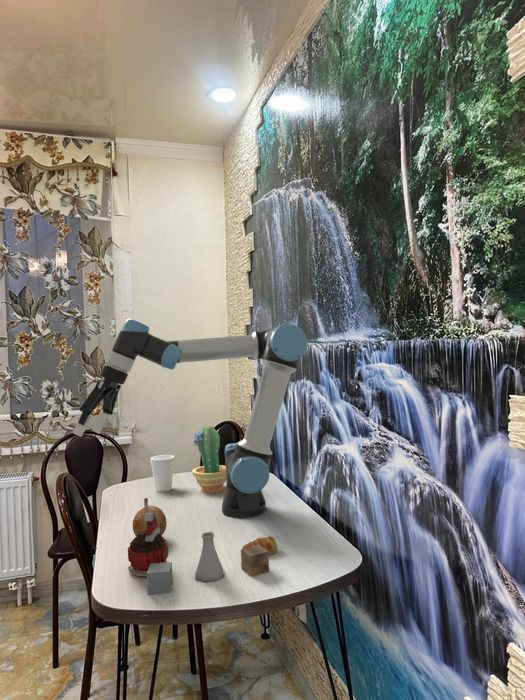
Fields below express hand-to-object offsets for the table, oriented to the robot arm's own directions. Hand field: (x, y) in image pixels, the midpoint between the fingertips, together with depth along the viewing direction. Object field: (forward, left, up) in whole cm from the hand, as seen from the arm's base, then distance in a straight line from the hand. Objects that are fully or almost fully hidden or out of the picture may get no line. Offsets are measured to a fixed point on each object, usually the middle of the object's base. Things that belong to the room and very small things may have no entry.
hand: (86, 433), depth 143 cm
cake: (-14, +28, -32) cm, 45 cm away
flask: (-28, +38, -32) cm, 56 cm away
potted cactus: (-46, -36, -32) cm, 66 cm away
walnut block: (-39, +40, -32) cm, 64 cm away
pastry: (-44, +30, -32) cm, 62 cm away
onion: (-17, +9, -32) cm, 37 cm away
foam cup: (-28, -45, -32) cm, 62 cm away
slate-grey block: (-16, +40, -32) cm, 53 cm away
